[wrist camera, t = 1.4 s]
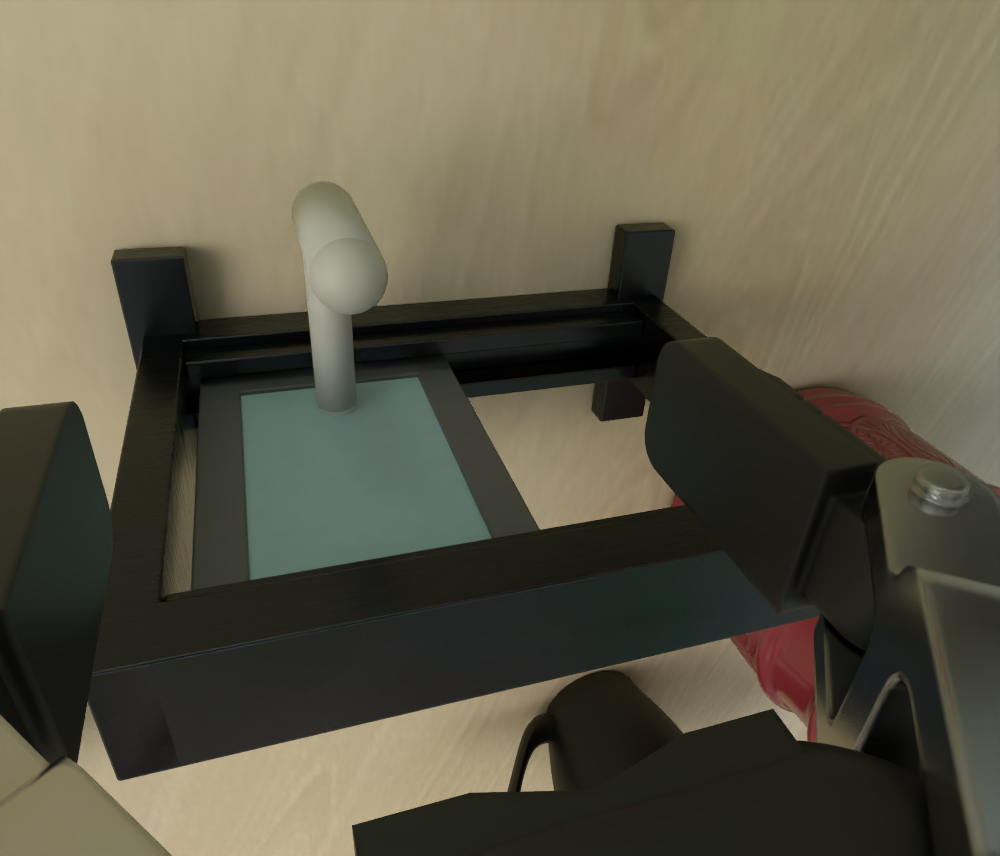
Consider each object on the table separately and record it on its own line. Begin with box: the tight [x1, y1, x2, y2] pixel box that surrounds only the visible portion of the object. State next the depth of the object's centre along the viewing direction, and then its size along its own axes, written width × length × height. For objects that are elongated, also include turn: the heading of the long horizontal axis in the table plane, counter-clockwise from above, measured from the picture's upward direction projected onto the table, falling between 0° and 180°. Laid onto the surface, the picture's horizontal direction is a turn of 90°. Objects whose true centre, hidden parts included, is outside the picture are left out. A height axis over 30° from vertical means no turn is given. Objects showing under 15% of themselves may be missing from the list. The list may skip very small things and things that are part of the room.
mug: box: [507, 671, 683, 792], centre depth 38 cm, size 8×12×10 cm
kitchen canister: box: [672, 388, 1000, 742], centre depth 31 cm, size 13×13×18 cm
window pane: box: [191, 181, 540, 590], centre depth 19 cm, size 8×7×11 cm
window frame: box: [87, 223, 821, 781], centre depth 21 cm, size 19×8×14 cm, turn 87°
